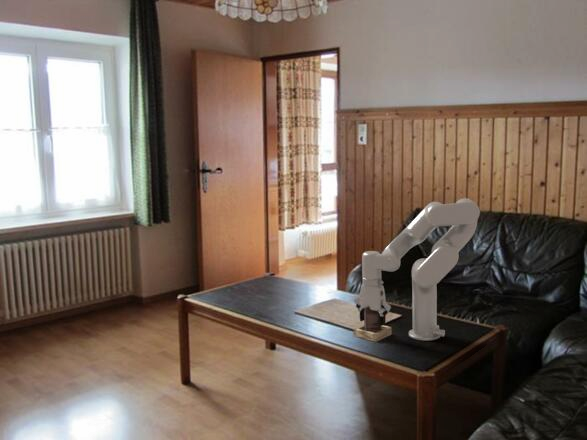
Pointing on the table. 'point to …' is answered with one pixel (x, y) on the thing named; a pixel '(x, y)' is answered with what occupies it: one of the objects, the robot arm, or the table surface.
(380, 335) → the housing
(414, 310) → the robot arm
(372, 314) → the box
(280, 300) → the table surface
